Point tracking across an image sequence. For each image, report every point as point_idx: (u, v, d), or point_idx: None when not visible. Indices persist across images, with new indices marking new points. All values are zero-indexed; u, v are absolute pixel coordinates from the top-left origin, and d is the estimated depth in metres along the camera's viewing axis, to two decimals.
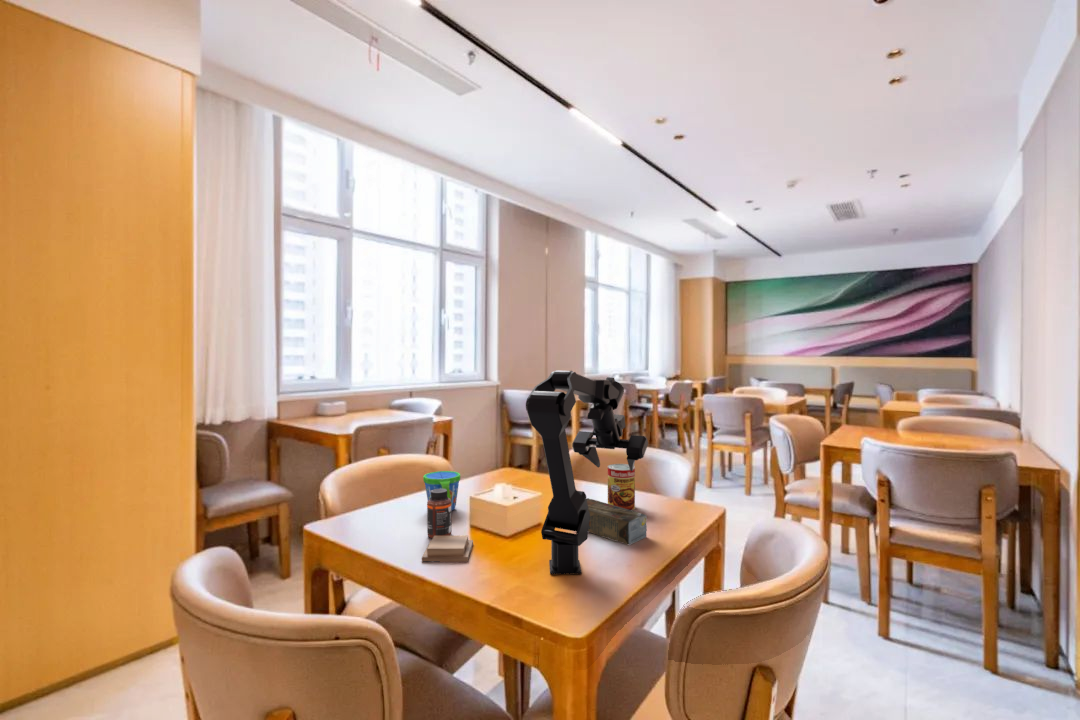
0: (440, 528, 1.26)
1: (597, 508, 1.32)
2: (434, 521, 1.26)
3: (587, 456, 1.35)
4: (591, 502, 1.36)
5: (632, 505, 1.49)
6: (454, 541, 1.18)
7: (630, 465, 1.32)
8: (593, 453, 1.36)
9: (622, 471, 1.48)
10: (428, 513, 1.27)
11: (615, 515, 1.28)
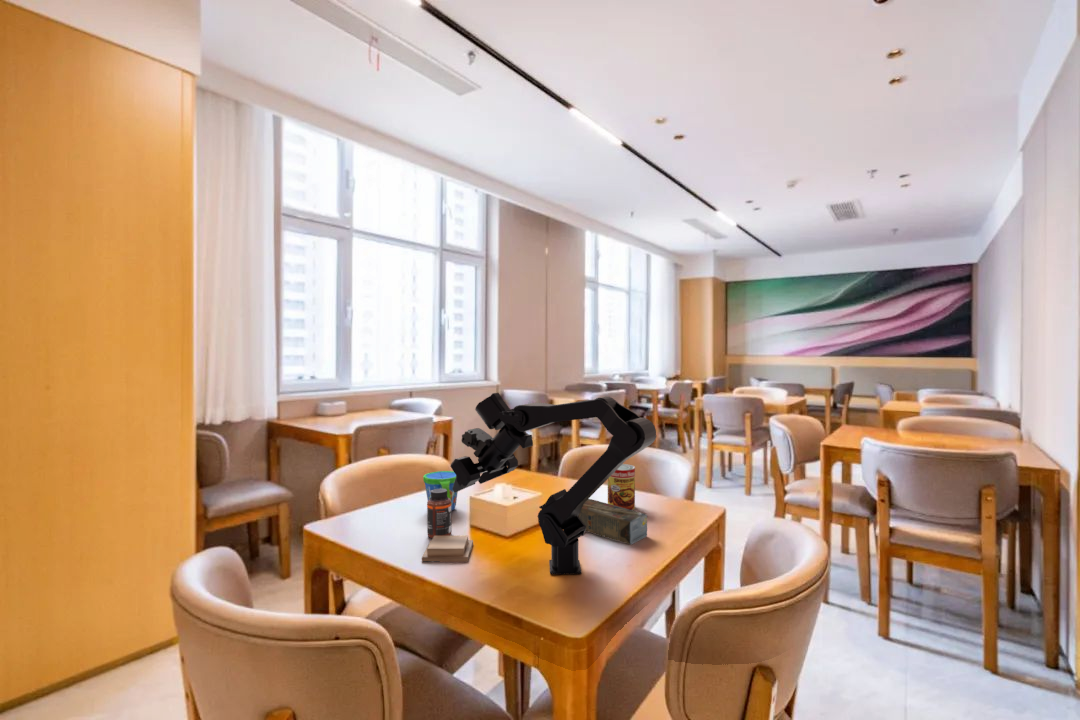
0: (440, 528, 1.26)
1: (597, 508, 1.32)
2: (434, 521, 1.26)
3: (470, 485, 1.16)
4: (590, 502, 1.36)
5: (632, 505, 1.49)
6: (454, 541, 1.18)
7: None
8: None
9: (622, 471, 1.48)
10: (428, 513, 1.27)
11: (616, 515, 1.28)
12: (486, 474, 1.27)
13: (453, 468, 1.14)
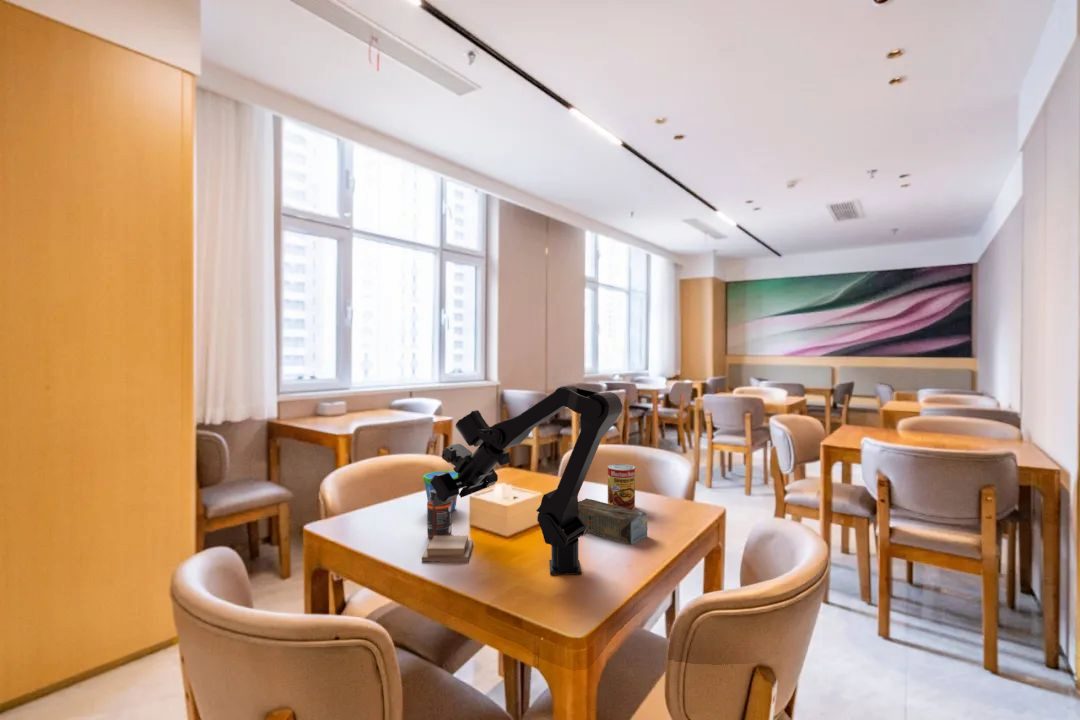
0: (440, 528, 1.26)
1: (598, 508, 1.32)
2: (434, 521, 1.26)
3: (449, 500, 1.19)
4: (590, 502, 1.36)
5: (632, 505, 1.49)
6: (454, 541, 1.18)
7: None
8: None
9: (622, 471, 1.48)
10: (428, 513, 1.27)
11: (617, 514, 1.28)
12: (467, 488, 1.30)
13: (432, 484, 1.17)
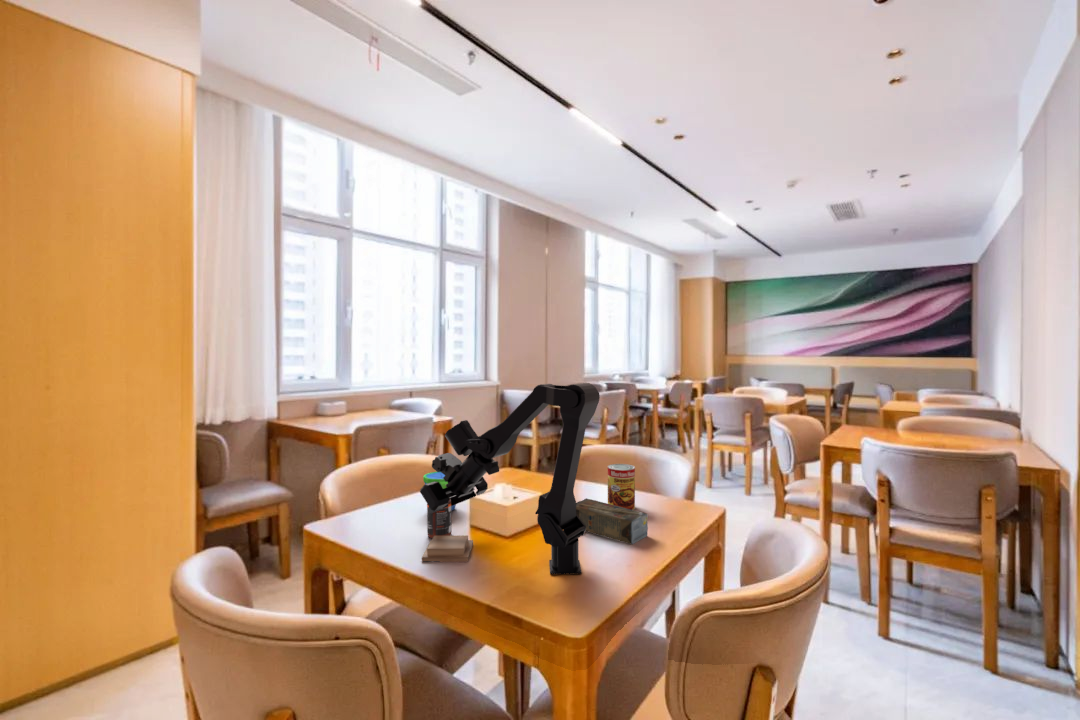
0: (440, 528, 1.26)
1: (598, 508, 1.32)
2: (434, 521, 1.26)
3: None
4: (590, 502, 1.36)
5: (632, 505, 1.49)
6: (454, 541, 1.18)
7: (459, 502, 1.31)
8: None
9: (622, 471, 1.48)
10: (428, 513, 1.27)
11: (617, 514, 1.28)
12: (453, 498, 1.31)
13: (422, 493, 1.19)
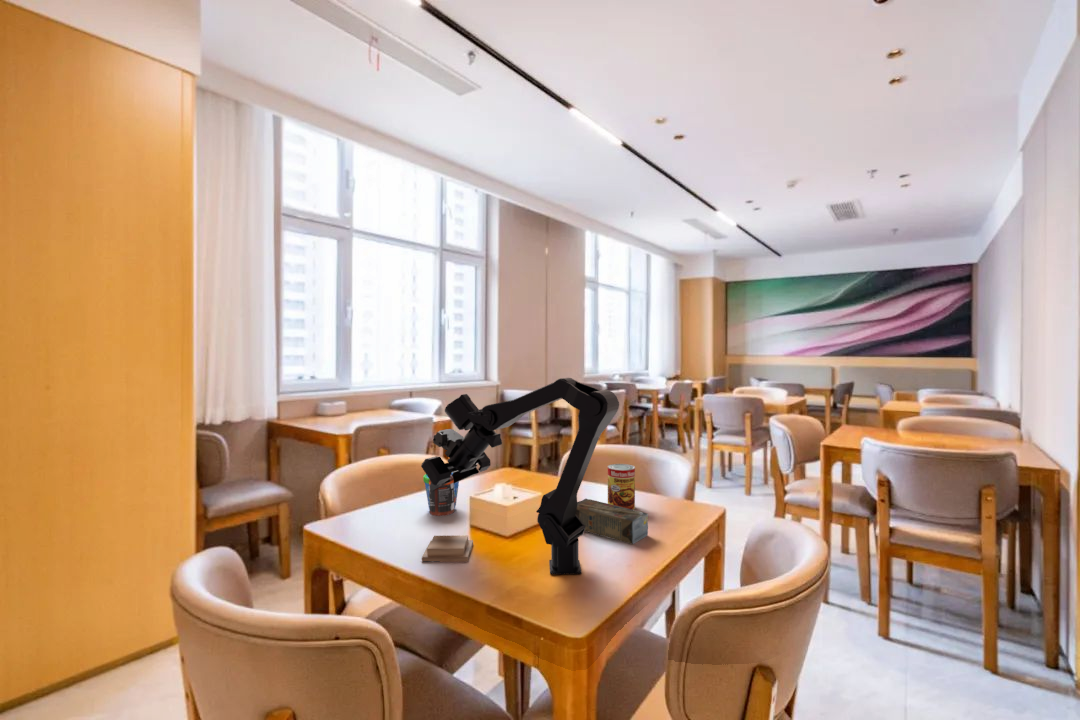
0: (443, 505, 1.24)
1: (598, 508, 1.32)
2: (437, 498, 1.24)
3: (446, 483, 1.20)
4: (590, 502, 1.36)
5: (632, 505, 1.49)
6: (454, 541, 1.18)
7: None
8: None
9: (622, 471, 1.48)
10: (430, 490, 1.25)
11: (617, 514, 1.28)
12: (456, 475, 1.29)
13: (423, 468, 1.17)
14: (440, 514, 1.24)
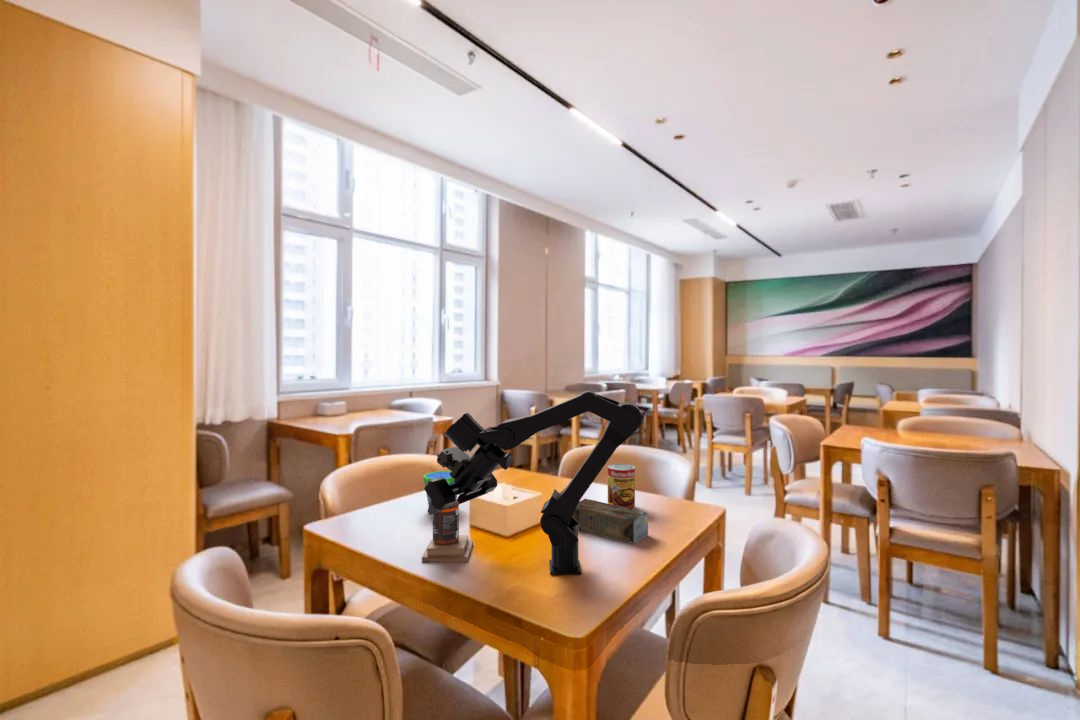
0: (447, 533, 1.16)
1: (598, 508, 1.32)
2: (441, 525, 1.16)
3: (445, 508, 1.11)
4: (590, 503, 1.36)
5: (632, 505, 1.49)
6: None
7: (470, 499, 1.21)
8: None
9: (622, 471, 1.48)
10: (434, 516, 1.17)
11: (618, 514, 1.28)
12: (464, 495, 1.22)
13: (427, 491, 1.09)
14: (444, 543, 1.16)
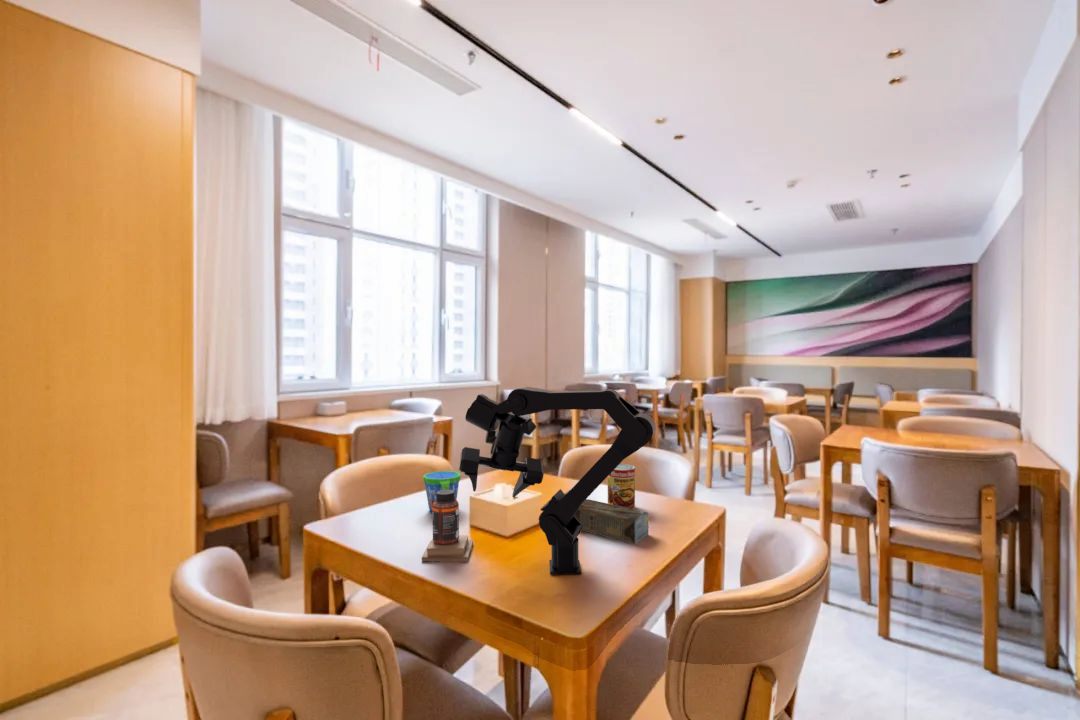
0: (447, 533, 1.16)
1: (599, 508, 1.32)
2: (441, 525, 1.16)
3: (473, 477, 1.15)
4: (590, 503, 1.35)
5: (632, 505, 1.49)
6: None
7: (519, 490, 1.19)
8: None
9: (622, 471, 1.48)
10: (434, 516, 1.17)
11: (619, 514, 1.28)
12: (517, 486, 1.20)
13: None
14: (444, 543, 1.16)
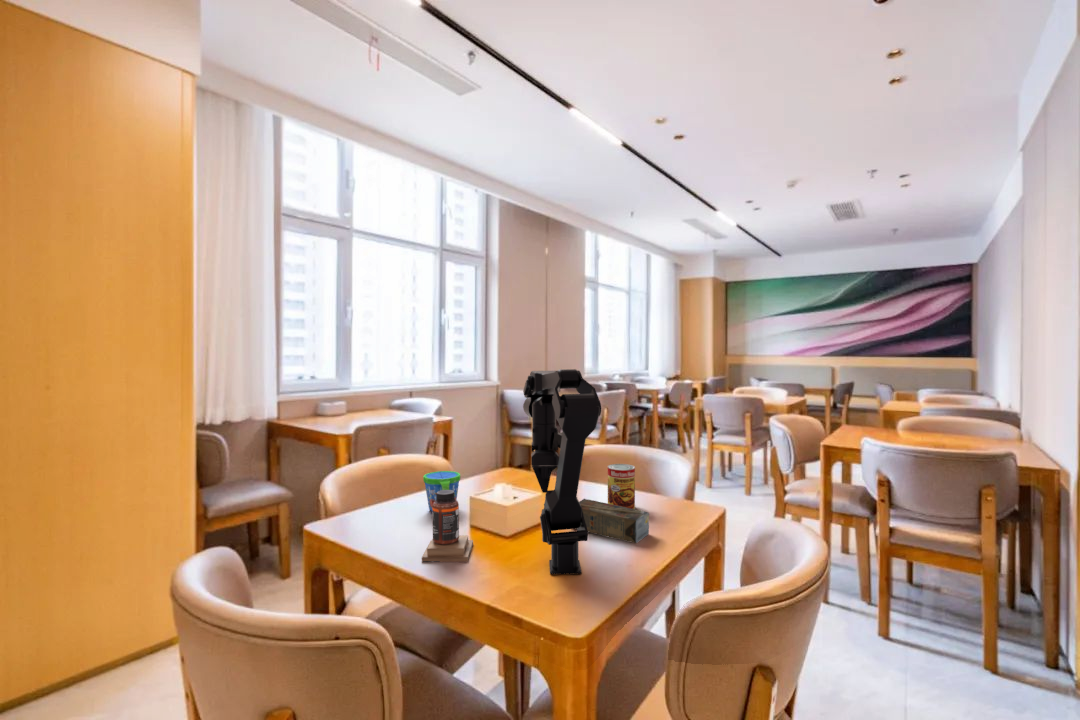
0: (447, 533, 1.16)
1: (599, 508, 1.32)
2: (441, 525, 1.16)
3: None
4: (590, 503, 1.35)
5: (632, 505, 1.49)
6: None
7: (537, 478, 1.20)
8: None
9: (622, 471, 1.48)
10: (434, 516, 1.17)
11: (619, 514, 1.28)
12: None
13: None
14: (444, 543, 1.16)
